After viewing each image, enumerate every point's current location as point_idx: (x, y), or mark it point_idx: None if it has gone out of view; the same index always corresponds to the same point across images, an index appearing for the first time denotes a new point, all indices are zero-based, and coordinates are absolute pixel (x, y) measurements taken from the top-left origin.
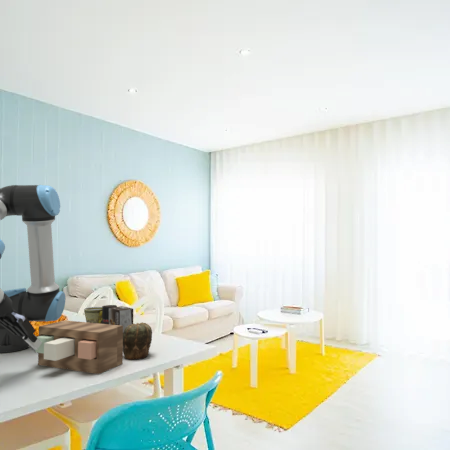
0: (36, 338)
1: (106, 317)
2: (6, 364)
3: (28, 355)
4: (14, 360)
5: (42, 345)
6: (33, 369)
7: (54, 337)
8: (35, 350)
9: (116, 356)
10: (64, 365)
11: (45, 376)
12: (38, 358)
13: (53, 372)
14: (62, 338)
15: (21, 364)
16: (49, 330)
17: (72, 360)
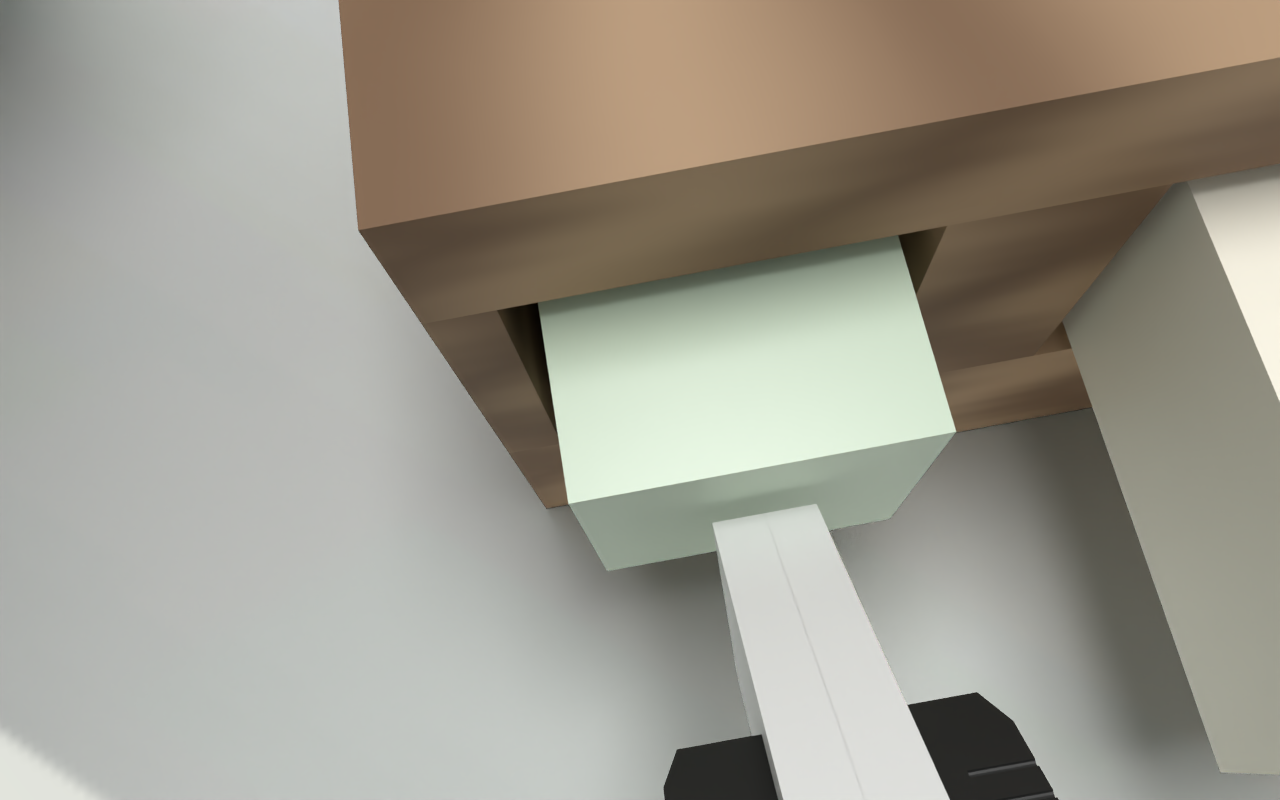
0: (1015, 742)
1: None
2: (96, 759)
3: (8, 320)
4: (30, 570)
5: (798, 504)
6: (694, 675)
7: (946, 246)
8: (608, 565)
9: None
10: (1063, 398)
11: (1181, 783)
12: (537, 483)
13: (1081, 596)
14: (1262, 222)
15: (305, 629)
16: (793, 194)
17: None
